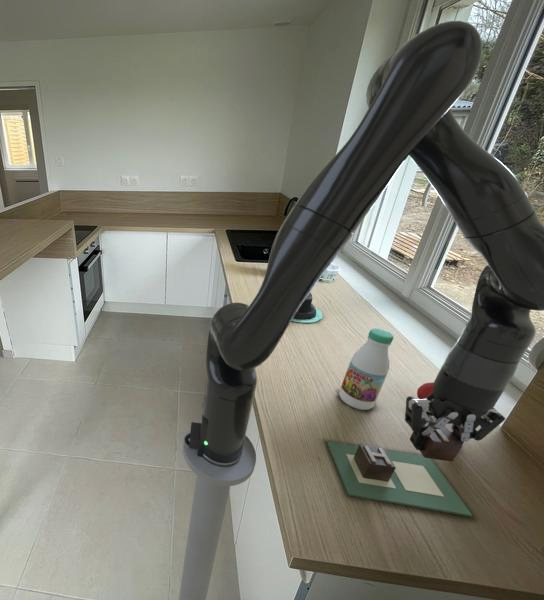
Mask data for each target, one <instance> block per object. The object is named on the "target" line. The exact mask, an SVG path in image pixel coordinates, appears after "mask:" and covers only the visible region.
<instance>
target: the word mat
mask: <svg viewBox="0 0 544 600" xmlns="http://www.w3.org/2000/svg"><path fill="white" fill-rule="evenodd" d="M326 445H327V448H328V449H329V452H330V454H331V455H330V456H331V457H332V459H333V462H334V464H335V467H336V469H337V471H338V474H339V477H340V478H341V481H342V484H343V486H344V489H345V491H346V493H347V496H349V497H355V498H360V499H367V500H372V501H378V502H382V503H383V502H384V503H389V504H394V505H401V506H406V507H413V508H419V509H423V510H430V511H435V512H441V513H447V514H451V515H452V514H453V515H459V516H463V517H470V518H472V517H473V514H472V512H471V511H470V509H469V508H468V507H467V506H466V505H465V503H464V502H463V500H462V499H461V497H460V496H459V495H458V493H457V492H456V491H455V489H454V488H453V487H452V485H451V484H450V482H449V481H448V479H446V477H445V475H444V474H443V473H442V472H441V470H440V468H438V466H437V465H436V463H435V462H434V460H433V459H430V458H425V457H424V456H423V455H421V454H419V455H418V454H414V453H407V452H399V451H393V450H387V449H385V451H386V452H387V454H388V456H389V457H390V459H391V461H392V462H393V464H394V466H395V467H396V468H395V470H394V472H393V474H392V476H391V478H390V480H389V482H386V481H380V480H374V479H367V478H363V476H362V474H361V472H360V470H359V468H358V466H357V464H356V462H355V460H354V456H355V454H356V451H357V449H358V447H359V445H355V444H348V443H342V442H341V443H340V442H336V441H335V442H334V441H326Z"/></svg>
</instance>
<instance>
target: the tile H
mask: <svg viewBox="0 0 544 600" xmlns="http://www.w3.org/2000/svg"><path fill="white" fill-rule="evenodd" d="M358 446H359V447H358V449H357V451H356V454H355V456H354V460H355V462H356V464H357V466H358V468H359V470H360V472H361V474H362V476H363V478H367V479H374V480H380V481H386V482H389V480H390V478H391V476H392V474H393V472H394V470H395V468H396V467H395V466H394V464H393V462H392V461H391V459H390V457H389V456H388V454H387V452H386V451H385V450H386V449H385V448H384V447H379V446H374V445H373V446H372V445H366V444H358Z"/></svg>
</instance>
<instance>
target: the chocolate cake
mask: <svg viewBox="0 0 544 600" xmlns="http://www.w3.org/2000/svg"><path fill="white" fill-rule="evenodd" d="M312 302H313V294H312V291H311V292H310V293H309V295H308V296H307V297H306V299H305V300H304V301H303V303H302V304H301V306H300V307H299V309H298V311H297V312H296V314H295V315H294V317H293V319H292V320H291V322H295V323H301V324H303V323H305V324H306V323H317V322H319V321H321V320H322V319H323V317H324V315H323V313H322V311H321V310H320V309H319V308H318V307H315V306H314V304H313V303H312Z"/></svg>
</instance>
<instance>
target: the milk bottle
mask: <svg viewBox="0 0 544 600" xmlns="http://www.w3.org/2000/svg"><path fill="white" fill-rule="evenodd" d="M393 340H394V334H393V333H391V332H390V331H388V330H385V329H381V328H371V329H370V330H369V332H368V336H367V340H366V342H365V343H364V344H363V345H362V346H361V347H360V348H358V349H357V350H356V351H355V352H354V353H353V355H352V357H351V359H350V362H349V363H348V367H347V369H346V372H345V375H344V378H343V380H342V383H341V385H340V388H339V392H338V394H339V398H340V400H342V401H343V402H344V403H345V404H346V405H348V406H350V407H351V408H354V409H356V410H362V411H367V410H371V409H373V407H374V406H375V404H376V402H377V399H378V397H379V395H380V392H381V390H382V387H384V383H385V380H386V378H387V376H388V373H389V370H390V363H391V362H390V356H389V347H390V346H391V345H392V342H393Z"/></svg>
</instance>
